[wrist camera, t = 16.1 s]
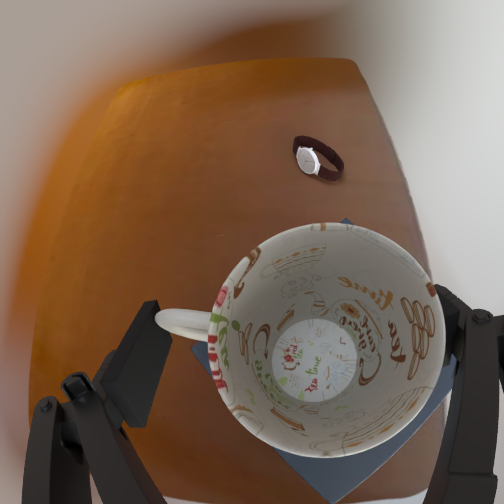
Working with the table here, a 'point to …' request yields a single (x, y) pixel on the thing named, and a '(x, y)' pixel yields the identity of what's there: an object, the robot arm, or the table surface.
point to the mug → (322, 339)
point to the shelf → (360, 464)
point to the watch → (310, 161)
